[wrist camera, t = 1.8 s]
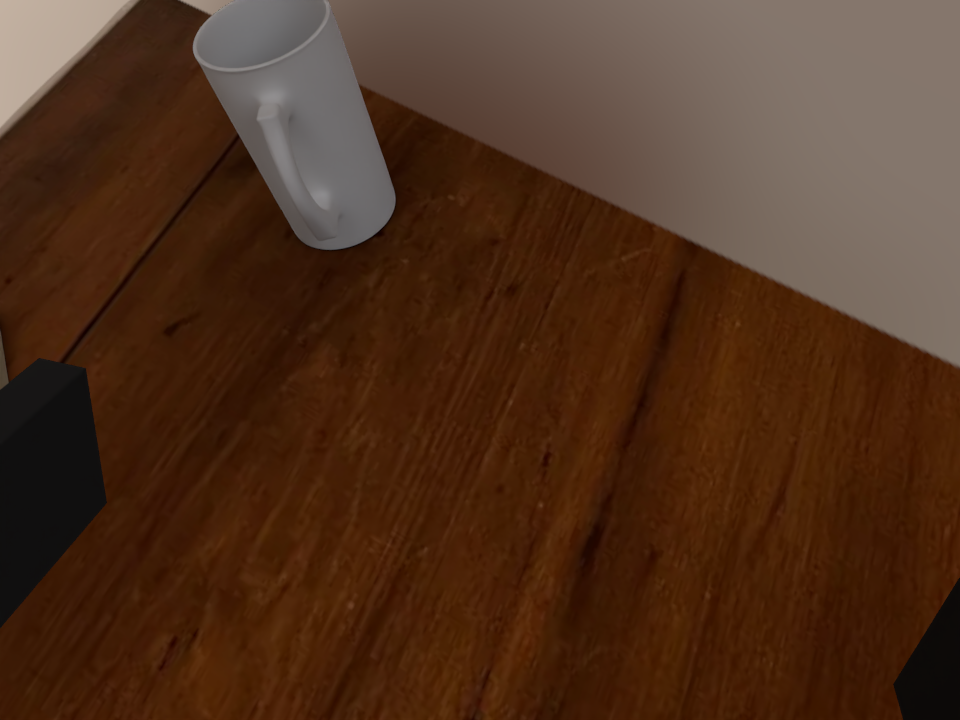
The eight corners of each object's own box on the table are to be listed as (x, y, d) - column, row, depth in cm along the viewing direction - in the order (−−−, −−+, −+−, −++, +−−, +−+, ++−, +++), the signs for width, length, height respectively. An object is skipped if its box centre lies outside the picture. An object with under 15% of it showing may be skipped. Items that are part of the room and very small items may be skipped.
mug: (291, 186, 51) (200, 4, 41) (398, 160, 50) (330, -30, 40) (285, 310, 44) (176, 130, 35) (407, 283, 44) (329, 93, 34)
